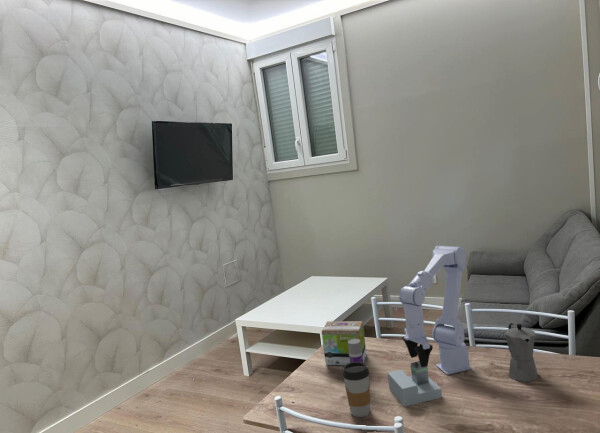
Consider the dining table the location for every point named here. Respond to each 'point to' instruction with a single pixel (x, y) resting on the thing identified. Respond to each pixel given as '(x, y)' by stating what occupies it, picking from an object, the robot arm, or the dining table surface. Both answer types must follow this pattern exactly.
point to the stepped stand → (412, 389)
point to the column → (419, 373)
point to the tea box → (341, 340)
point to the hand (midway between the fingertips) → (419, 361)
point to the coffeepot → (521, 353)
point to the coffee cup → (357, 388)
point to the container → (355, 350)
